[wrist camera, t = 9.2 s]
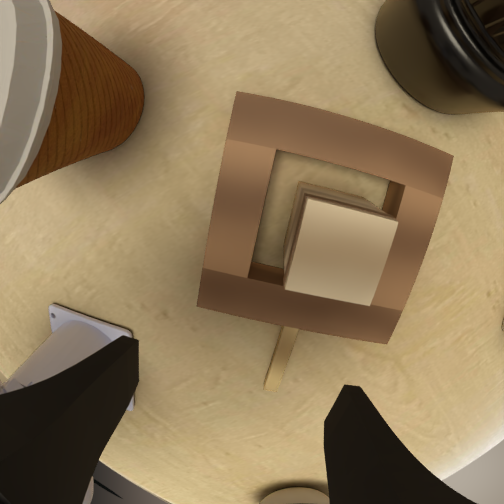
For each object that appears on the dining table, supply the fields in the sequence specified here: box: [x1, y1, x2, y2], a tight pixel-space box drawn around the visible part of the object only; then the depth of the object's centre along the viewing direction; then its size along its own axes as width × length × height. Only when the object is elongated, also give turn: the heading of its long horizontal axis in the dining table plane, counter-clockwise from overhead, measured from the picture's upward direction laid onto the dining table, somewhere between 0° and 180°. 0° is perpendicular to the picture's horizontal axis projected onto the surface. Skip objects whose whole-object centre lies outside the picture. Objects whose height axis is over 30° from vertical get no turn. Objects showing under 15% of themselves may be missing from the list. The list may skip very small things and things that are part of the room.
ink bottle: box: [376, 0, 504, 115], centre depth 8 cm, size 10×9×12 cm
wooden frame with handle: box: [197, 91, 454, 392], centre depth 18 cm, size 19×12×2 cm, turn 168°
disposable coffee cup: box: [0, 0, 144, 204], centre depth 11 cm, size 10×10×12 cm
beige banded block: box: [283, 181, 398, 306], centre depth 16 cm, size 4×4×6 cm
